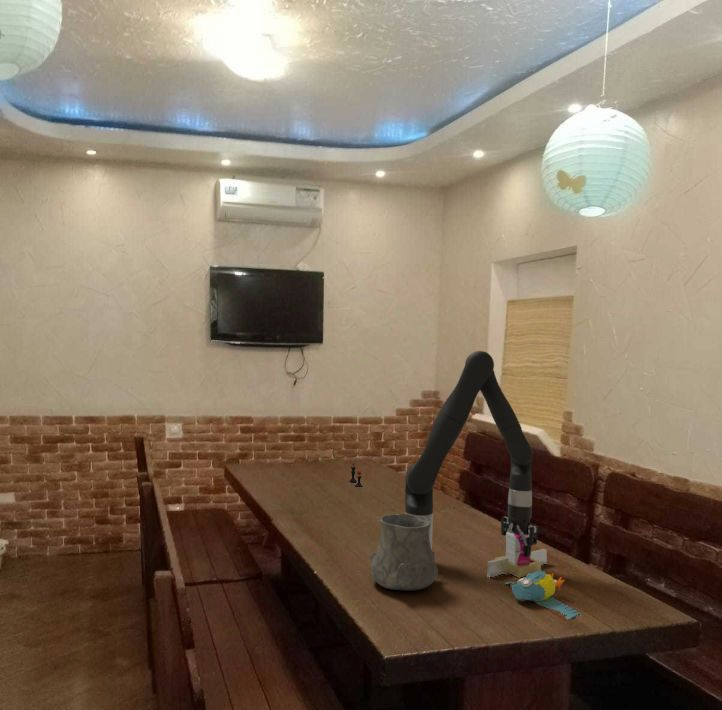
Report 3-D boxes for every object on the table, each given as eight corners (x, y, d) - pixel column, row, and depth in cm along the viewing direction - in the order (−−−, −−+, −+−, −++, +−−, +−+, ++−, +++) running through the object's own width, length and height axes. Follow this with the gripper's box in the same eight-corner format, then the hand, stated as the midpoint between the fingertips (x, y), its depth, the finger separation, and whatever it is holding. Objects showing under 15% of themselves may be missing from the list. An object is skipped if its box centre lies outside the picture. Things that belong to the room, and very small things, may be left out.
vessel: (392, 566, 210) (394, 505, 209) (450, 584, 196) (452, 519, 195) (349, 584, 193) (351, 518, 192) (409, 605, 179) (412, 534, 178)
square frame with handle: (500, 583, 198) (500, 567, 198) (476, 572, 206) (477, 557, 206) (557, 568, 212) (557, 553, 212) (533, 559, 221) (533, 544, 221)
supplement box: (514, 572, 205) (514, 536, 206) (505, 566, 211) (505, 531, 211) (530, 570, 207) (530, 535, 207) (520, 565, 213) (520, 530, 213)
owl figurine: (594, 585, 176) (552, 594, 169) (593, 616, 176) (552, 627, 170) (525, 553, 201) (486, 561, 194) (524, 581, 201) (486, 589, 195)
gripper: (495, 499, 213) (493, 548, 213) (528, 509, 201) (526, 561, 201) (511, 496, 217) (509, 545, 217) (545, 506, 205) (543, 558, 205)
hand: (518, 553), depth 209 cm, fingers open, 7 cm apart
